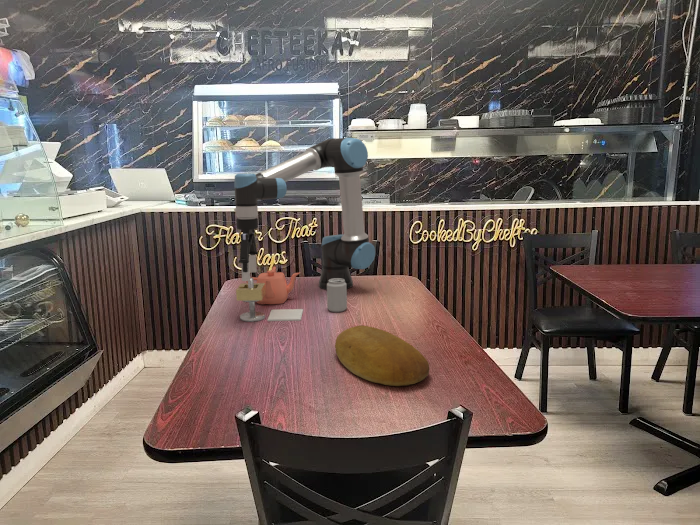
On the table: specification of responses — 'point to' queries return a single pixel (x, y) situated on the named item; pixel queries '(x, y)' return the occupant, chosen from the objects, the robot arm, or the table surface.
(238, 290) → the link
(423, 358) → the bread
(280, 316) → the mat
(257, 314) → the stand
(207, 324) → the table surface
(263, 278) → the pot
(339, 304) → the can
